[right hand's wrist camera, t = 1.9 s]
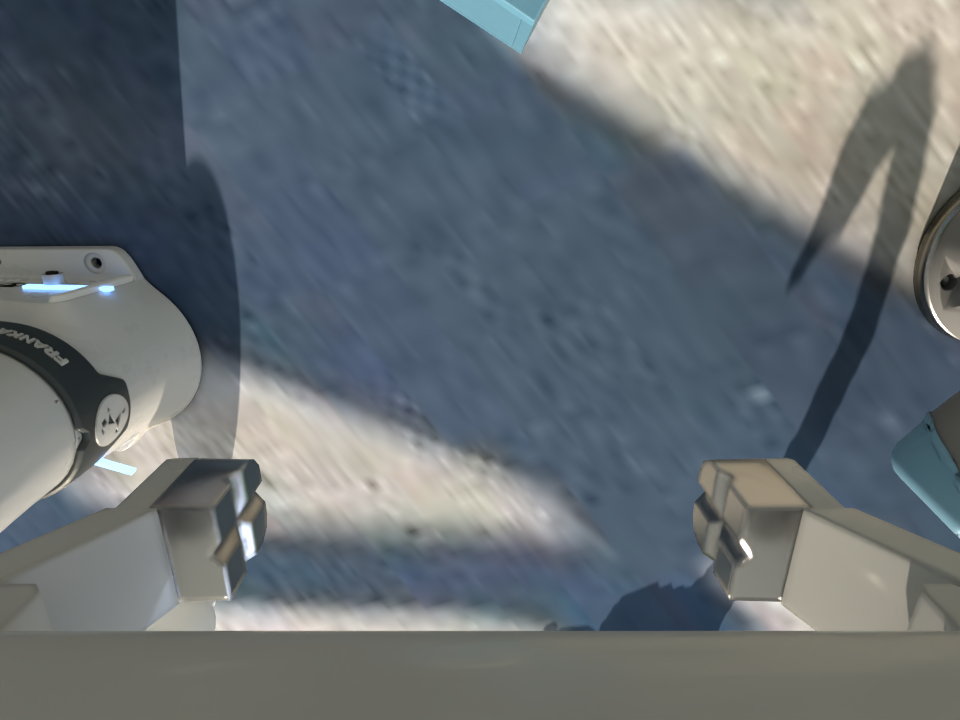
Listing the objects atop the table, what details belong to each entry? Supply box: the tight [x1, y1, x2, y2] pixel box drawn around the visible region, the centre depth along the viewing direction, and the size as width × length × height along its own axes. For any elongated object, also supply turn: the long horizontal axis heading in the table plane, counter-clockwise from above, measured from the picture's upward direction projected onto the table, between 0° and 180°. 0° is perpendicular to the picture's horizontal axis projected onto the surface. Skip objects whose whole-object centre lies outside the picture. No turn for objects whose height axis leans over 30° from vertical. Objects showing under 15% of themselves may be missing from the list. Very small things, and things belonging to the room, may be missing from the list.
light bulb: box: [145, 601, 216, 631], centre depth 52 cm, size 7×7×11 cm
